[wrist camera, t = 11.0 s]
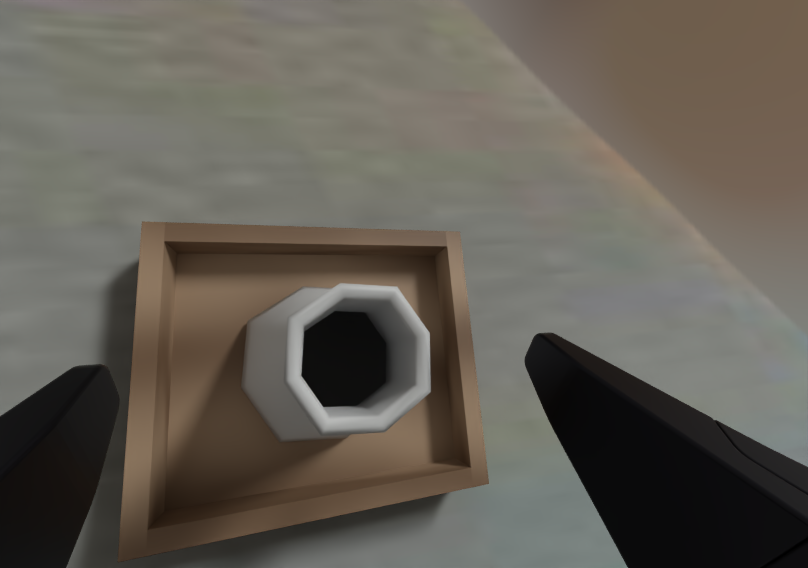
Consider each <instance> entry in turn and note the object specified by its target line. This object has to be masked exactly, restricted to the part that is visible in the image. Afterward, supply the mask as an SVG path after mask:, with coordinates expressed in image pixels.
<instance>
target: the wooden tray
mask: <svg viewBox="0 0 808 568" xmlns="http://www.w3.org/2000/svg"><path fill="white" fill-rule="evenodd" d="M340 283H346V284H362V285H378V286H394V287H398V289H399V290H400V291H401V293H402V294H403V296H404V297H405V299H406V300H407V301H408V303H409V304H410V306H411V307H412V309H413V310H414V311H415V313H416V314H417V316H418V317H419V318H420V320H421V321H422V323H423V324H424V326H425V327H426V328H427V330H428V331H429V333H430V376H431V392H430V393H429V394H428V395H427V396H426V397H425V398H423V399H422V400H421V401H420V402H419V403H418V404H417V405H415V406H414V407H413V408H412V409H411V410H410V411H409V412H407V413H406V414H405V415H404V416H403V417H402V418H401V419H399V420H398V421H397V422H396V423H395V424H394V425H393V426H391V427H390V428H389V429H388V430H387V431H386V432H383V433H366V434H351V435H350V436H348V437H347V438H341V439H325V440H309V441H293V442H279V441H278V440H277V438H276V437H275V435H274V434H273V433H272V431H271V430H270V428H269V427H268V425H267V424H266V423H265V421H264V420H263V418H262V417H261V415H260V414H259V413H258V411H257V410H256V408H255V407H254V405H253V404H252V403H251V401H250V400H249V398H248V397H247V395H246V394H245V393H244V391H243V390H242V388H241V382H242V372H243V361H244V351H245V341H246V330H247V321H248V320H250V319H251V318H253V317H254V316H256V315H258V314H259V313H261V312H262V311H264V310H266V309H267V308H269V307H271V306H272V305H274V304H275V303H277V302H279V301H280V300H282V299H283V298H285V297H287V296H288V295H290V294H292V293H293V292H295V291H296V290H298V289H300V288H301V287H303V286H305V287H322V288H333V287H335V286H336V285H338V284H340ZM485 484H489V480H488V471H487V462H486V454H485V445H484V437H483V428H482V419H481V411H480V402H479V393H478V385H477V376H476V367H475V359H474V350H473V341H472V333H471V324H470V315H469V307H468V298H467V290H466V281H465V272H464V264H463V255H462V246H461V238H460V232H451V231H419V230H388V229H357V228H326V227H294V226H263V225H232V224H200V223H169V222H142V228H141V242H140V256H139V270H138V284H137V298H136V312H135V326H134V340H133V354H132V368H131V382H130V396H129V409H128V423H127V437H126V451H125V465H124V479H123V493H122V507H121V521H120V535H119V549H118V562H122V561H127V560H131V559H136V558H141V557H146V556H150V555H155V554H160V553H164V552H169V551H174V550H179V549H183V548H188V547H193V546H197V545H202V544H207V543H212V542H216V541H221V540H226V539H230V538H235V537H240V536H245V535H249V534H254V533H259V532H263V531H268V530H273V529H278V528H282V527H287V526H292V525H297V524H301V523H306V522H311V521H315V520H320V519H325V518H330V517H334V516H339V515H344V514H348V513H353V512H358V511H363V510H367V509H372V508H377V507H381V506H386V505H391V504H396V503H400V502H405V501H410V500H414V499H419V498H424V497H429V496H433V495H438V494H443V493H447V492H452V491H457V490H462V489H466V488H471V487H476V486H480V485H485Z"/></svg>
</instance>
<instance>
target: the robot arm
mask: <svg viewBox="0 0 808 568" xmlns="http://www.w3.org/2000/svg"><path fill="white" fill-rule="evenodd" d="M525 366H526V369H527V371H528V373H529V376H530V378H531V380H532V383H533V385H534V387H535V390H536V392H537V395H538V397H539V399H540V402H541V404H542V406H543V409H544V411H545V413H546V415H547V418H548V420H549V422H550V424H551V426H552V428H553V430H554V432H555V433H556V435H557V437H558V439H559V441H560V443H561V445H562V446H563V448H564V450H565V452H566V454H567V456H568V458H569V459H570V461H571V463H572V465H573V467H574V469H575V471H576V472H577V474H578V476H579V478H580V480H581V482H582V484H583V485H584V487H585V489H586V491H587V493H588V495H589V496H590V498H591V500H592V502H593V504H594V506H595V508H596V509H597V511H598V513H599V515H600V517H601V519H602V521H603V522H604V524H605V526H606V528H607V530H608V532H609V534H610V535H611V537H612V539H613V541H614V543H615V545H616V546H617V548H618V550H619V552H620V554H621V556H622V558H623V559H624V561H625V563H626V565H627V567H628V568H808V467H807V466H805V465H803V464H801V463H798V462H796V461H794V460H792V459H790V458H788V457H786V456H784V455H782V454H780V453H778V452H776V451H774V450H772V449H770V448H768V447H766V446H764V445H762V444H761V443H759V442H757V441H755V440H753V439H751V438H749V437H747V436H745V435H743V434H741V433H739V432H738V431H736V430H734V429H732V428H730V427H728V426H726V425H724V424H723V423H721V422H719V421H717V420H713V419H712V418H711V417H709V416H707V415H706V414H704V413H702V412H700V411H698V410H696V409H694V408H692V407H691V406H689V405H687V404H685V403H683V402H681V401H679V400H678V399H676V398H674V397H672V396H670V395H668V394H666V393H664V392H663V391H661V390H659V389H657V388H655V387H653V386H651V385H649V384H648V383H646V382H644V381H642V380H640V379H638V378H636V377H634V376H633V375H631V374H629V373H627V372H625V371H623V370H621V369H620V368H618V367H616V366H614V365H612V364H610V363H608V362H606V361H605V360H603V359H601V358H599V357H597V356H595V355H593V354H591V353H590V352H588V351H586V350H584V349H582V348H580V347H578V346H577V345H575V344H573V343H571V342H569V341H567V340H565V339H563V338H562V337H560V336H558V335H556V334H554V333H539V334H536V335H535V336H534V338H533V340H532V342H531V345H530V347H529V349H528V351H527V354H526V356H525ZM118 409H119V395H118V392H117V389H116V387H115V384H114V382H113V379H112V377H111V374H110V372H109V370H108V368H107V367H106V366H105V365H102V364H95V365H81V366H76V367H73V368H71V369H70V370H68V371H67V372H65V373H64V374H62V375H61V376H59V377H58V378H56V379H55V380H53V381H52V382H50V383H49V384H47V385H46V386H44V387H43V388H41V389H40V390H38V391H37V392H35V393H34V394H32V395H31V396H30V397H28V398H27V399H25V400H24V401H22V402H21V403H19V404H18V405H16V406H15V407H13V408H12V409H10V410H9V411H7V412H6V413H4V414H3V415H1V416H0V568H66V567H67V564H68V562H69V559H70V557H71V554H72V552H73V549H74V547H75V544H76V542H77V539H78V537H79V534H80V532H81V529H82V527H83V524H84V522H85V519H86V517H87V514H88V512H89V509H90V506H91V504H92V501H93V498H94V495H95V492H96V489H97V486H98V482H99V479H100V475H101V472H102V468H103V464H104V461H105V457H106V453H107V450H108V446H109V442H110V439H111V435H112V431H113V427H114V424H115V420H116V416H117V413H118Z"/></svg>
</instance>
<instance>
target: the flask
mask: <svg viewBox="0 0 808 568" xmlns="http://www.w3.org/2000/svg"><path fill="white" fill-rule="evenodd" d="M241 388H242V390H243V391H244V393H245V394H246V395H247V397H248V398H249V400H250V401H251V403H252V404H253V405H254V407H255V408H256V410H257V411H258V413H259V414H260V415H261V417H262V418H263V420H264V421H265V423H266V424H267V425H268V427H269V428H270V430H271V431H272V433H273V434H274V435H275V437H276V438H277V440H278V441H279V442H293V441H309V440H325V439H341V438H347V437H348V436H350V435H351V434H366V433H383V432H386V431H387V430H388V429H389V428H390V427H391V426H393V425H394V424H395V423H396V422H397V421H398V420H399V419H401V418H402V417H403V416H404V415H405V414H406V413H407V412H409V411H410V410H411V409H412V408H413V407H414V406H415V405H417V404H418V403H419V402H420V401H421V400H422V399H423V398H425V397H426V396H427V395H428V394H429V393H430V392H431V376H430V333H429V331H428V330H427V328H426V327H425V326H424V324H423V323H422V321H421V320H420V318H419V317H418V316H417V314H416V313H415V311H414V310H413V309H412V307H411V306H410V304H409V303H408V301H407V300H406V299H405V297H404V296H403V294H402V293H401V291H400V290H399V289H398V287H394V286H378V285H362V284H346V283H340V284H338V285H336V286H335V287H333V288H322V287H305V286H303V287H301V288H300V289H298V290H296V291H295V292H293V293H292V294H290V295H288V296H287V297H285V298H283V299H282V300H280V301H279V302H277V303H275V304H274V305H272V306H271V307H269V308H267V309H266V310H264V311H262V312H261V313H259V314H258V315H256V316H254V317H253V318H251V319H250V320H248V321H247V330H246V341H245V351H244V361H243V372H242V382H241Z"/></svg>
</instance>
